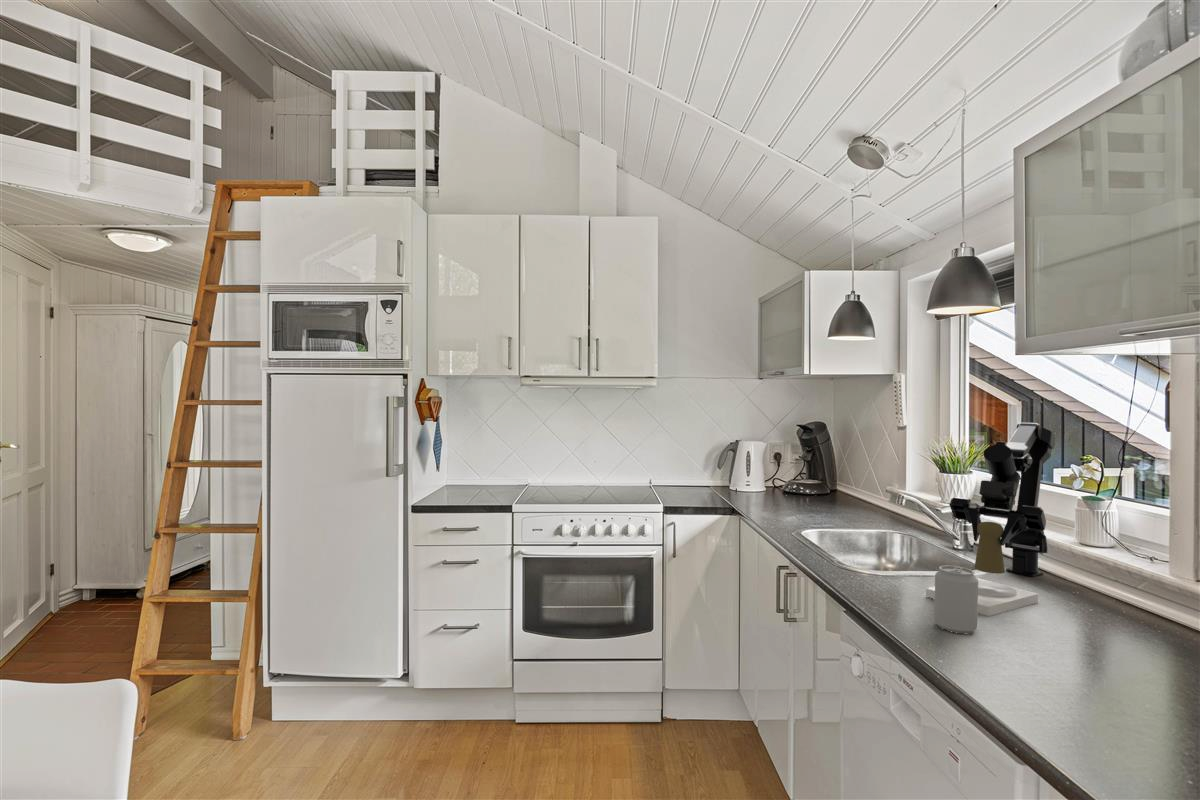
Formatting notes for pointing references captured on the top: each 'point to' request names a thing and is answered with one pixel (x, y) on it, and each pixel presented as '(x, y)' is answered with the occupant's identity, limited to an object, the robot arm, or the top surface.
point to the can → (956, 599)
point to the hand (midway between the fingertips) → (988, 542)
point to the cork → (989, 548)
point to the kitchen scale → (997, 597)
